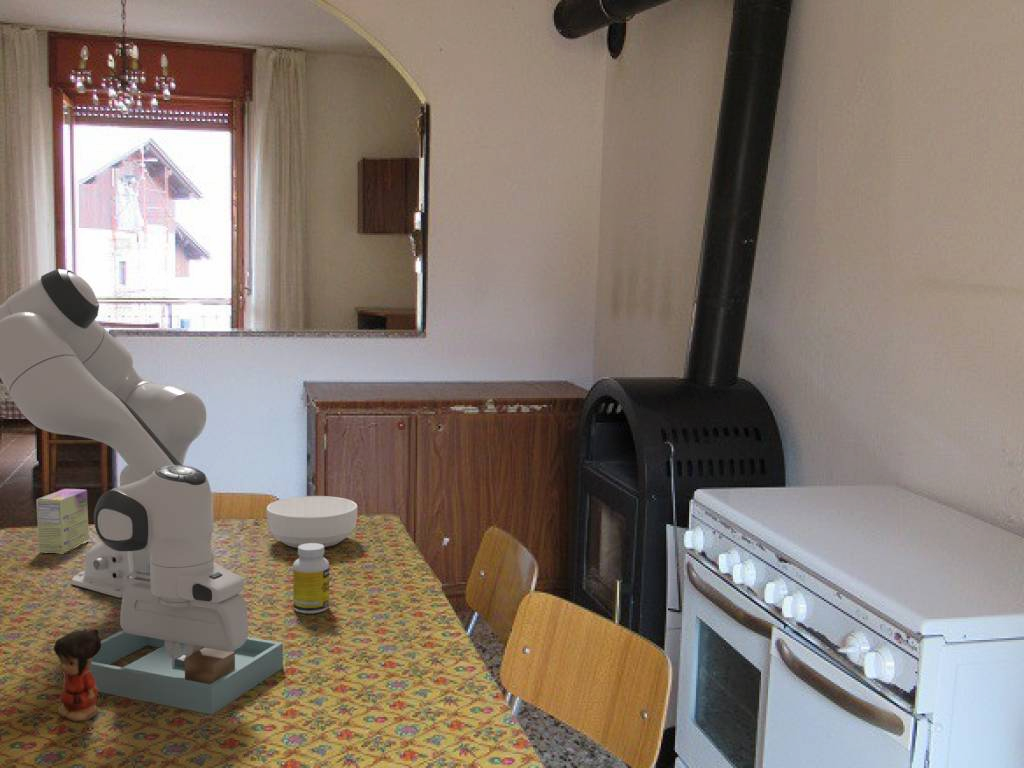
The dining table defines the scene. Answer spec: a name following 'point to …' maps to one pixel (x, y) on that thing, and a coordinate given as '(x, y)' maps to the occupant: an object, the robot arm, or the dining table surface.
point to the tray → (180, 673)
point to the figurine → (78, 674)
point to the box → (62, 520)
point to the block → (209, 665)
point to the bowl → (311, 520)
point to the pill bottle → (311, 579)
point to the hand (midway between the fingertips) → (183, 669)
